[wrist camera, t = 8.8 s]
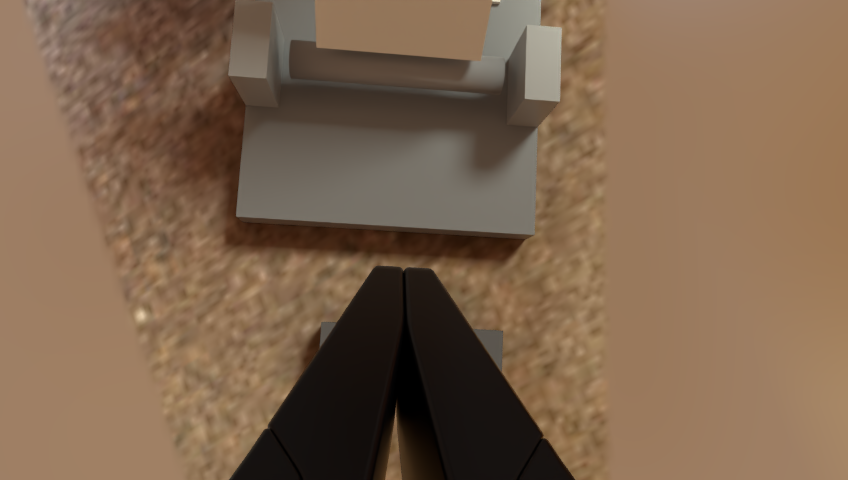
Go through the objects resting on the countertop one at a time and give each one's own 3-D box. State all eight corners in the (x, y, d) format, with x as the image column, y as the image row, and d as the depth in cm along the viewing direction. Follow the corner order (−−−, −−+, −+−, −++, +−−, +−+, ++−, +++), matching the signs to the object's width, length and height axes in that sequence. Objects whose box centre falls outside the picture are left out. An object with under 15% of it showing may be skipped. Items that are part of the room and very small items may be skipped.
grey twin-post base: (525, 239, 22) (557, 223, 19) (243, 222, 22) (216, 202, 18) (535, -71, 24) (565, -142, 20) (271, -97, 23) (251, -177, 19)
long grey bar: (495, 330, 22) (502, 331, 21) (494, 370, 22) (501, 374, 21) (324, 321, 21) (321, 322, 20) (321, 363, 21) (318, 365, 20)
